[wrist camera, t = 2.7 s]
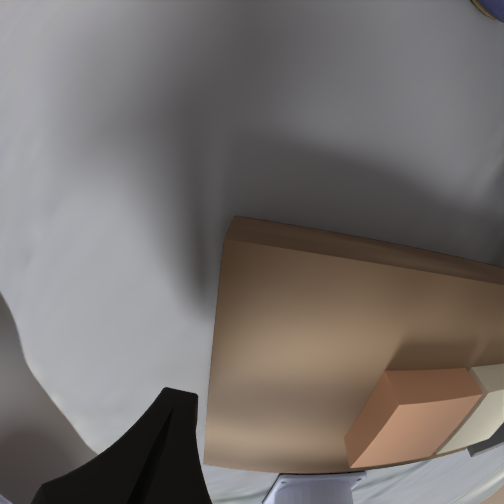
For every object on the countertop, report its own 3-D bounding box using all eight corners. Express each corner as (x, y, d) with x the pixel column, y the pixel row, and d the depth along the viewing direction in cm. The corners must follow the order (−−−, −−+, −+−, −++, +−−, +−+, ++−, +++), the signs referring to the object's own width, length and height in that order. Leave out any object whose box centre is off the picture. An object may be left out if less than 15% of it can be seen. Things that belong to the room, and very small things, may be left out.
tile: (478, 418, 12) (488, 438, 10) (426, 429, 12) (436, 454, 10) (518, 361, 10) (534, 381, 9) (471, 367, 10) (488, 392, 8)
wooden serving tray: (453, 424, 17) (465, 449, 14) (210, 427, 16) (203, 464, 14) (539, 276, 12) (565, 296, 9) (234, 216, 12) (224, 239, 9)
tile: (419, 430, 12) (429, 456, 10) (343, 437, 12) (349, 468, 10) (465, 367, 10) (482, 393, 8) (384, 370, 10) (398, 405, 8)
